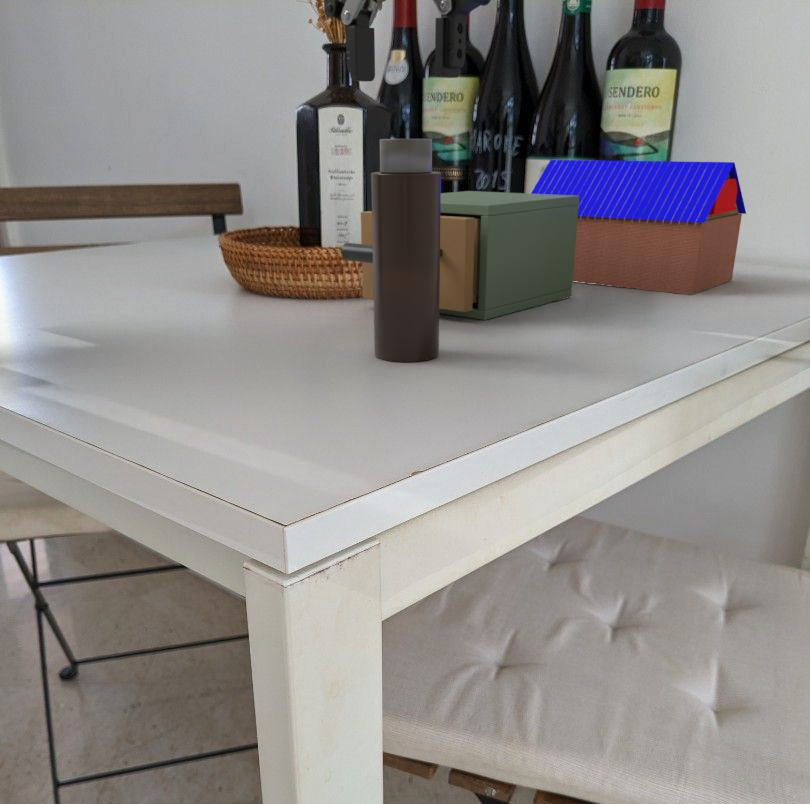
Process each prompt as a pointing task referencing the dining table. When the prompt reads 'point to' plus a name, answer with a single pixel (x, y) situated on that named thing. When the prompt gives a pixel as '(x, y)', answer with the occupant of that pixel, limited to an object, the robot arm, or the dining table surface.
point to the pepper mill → (406, 251)
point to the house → (651, 221)
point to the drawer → (454, 259)
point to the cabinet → (519, 248)
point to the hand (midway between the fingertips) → (403, 79)
